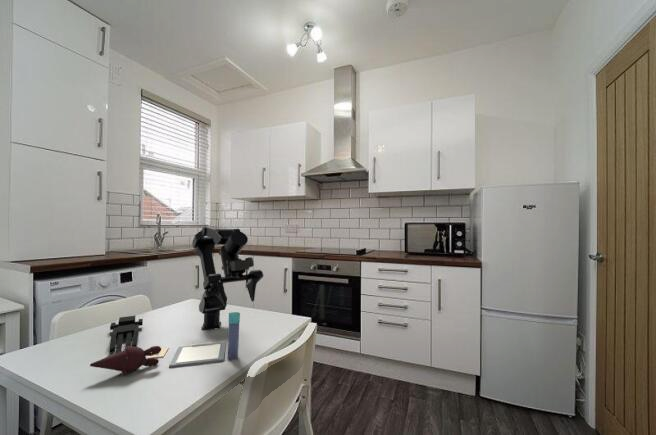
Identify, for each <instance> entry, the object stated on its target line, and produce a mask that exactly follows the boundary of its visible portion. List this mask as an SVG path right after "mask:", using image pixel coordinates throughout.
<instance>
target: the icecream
mask: <svg viewBox="0 0 656 435" xmlns="http://www.w3.org/2000/svg"><path fill="white" fill-rule="evenodd" d="M161 348H162V347H161V346H160V345H155V346H153V345H152V346H151V347H149V348H147V349H145V350H144V349H143V348H142V347H139V346H137V347H135V346H132V345H131V346H130V347H129V346H127V347H126V348H125V347H124V350H121V352H119V353H116V354H115V353H113V354H111V355H109V356H107V357H104V358H102V359H98V360H97V361H93V362H92V363H90V364H89V366H90V367H92V368H99V369H106V370H112V371H118V372H121V376H122V377H123V376H124V375H125V374H129V373H133V372H135V371H138V370H139V369H140V368H141V367H142V366H144V367H154V366H157V365H158V364H159V362H160V360H159V359H158V358H148V357H149V356H152V355H155V354H158V353H159V352H160V351H161Z"/></svg>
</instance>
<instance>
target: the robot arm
mask: <svg viewBox="0 0 656 435" xmlns="http://www.w3.org/2000/svg"><path fill="white" fill-rule="evenodd" d="M248 239H249V238H248V236H247V235H246V234H245V232H242V231H241V230H240V228H219V227H217V226H216V227H215V226H211V225H209V226H207V225H205V226H203V227H202V228H201V230H200V231H199V232H197V233H196V234H195V235H194V237H193V240H192V242H191V243H192V244H191V245H192V248H193V249H194V250H193V251H194V253H195V254H196V255H197V256H198V257H199V258H200V263H201V264H200V266H201V269H202V276H203V282H202V283H203V290H204V291H203V293H202V295H201V296H202V297H201V300H200V303H199V305H198V311H199V312H200V313H202V314H203V323H202V325H201V331H203V330H217V329H221V325H222V321H221V311H225V310H226V307H227V305H228V303H227V302H228V297H227V294H226V292H225V287H224V284H227V283H234V282H244V281H246V283H247V285H246V288H247V292H248V295H249V298H250V301H251V302H255V295H256V288H257V283H258V282H260V281H261V280H262V279H263V278H264V273H263V271H262V270H261V269H255V270H250V268H253V267H254V265H255V264H254V262H255V261H254V258H253V257H252V256H251V257H246V258H244V259H242V258H240V257H239V253H241V251H242V250H243V249H244V247H245V246H246V245H247V243H248ZM216 245H218V246H219V245H220V246H221V247H220V249H219V252H218V255H219V256H220V260H221V263H222V264H221V265H222V266H221V270H222V271H223V274H224V276H222V274H221V273H216V271H217V270H216V267H215V262H214V257H213V251H214V249H215V246H216ZM247 270H250V271H249V272H248V274H245V273H246V271H247Z"/></svg>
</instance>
